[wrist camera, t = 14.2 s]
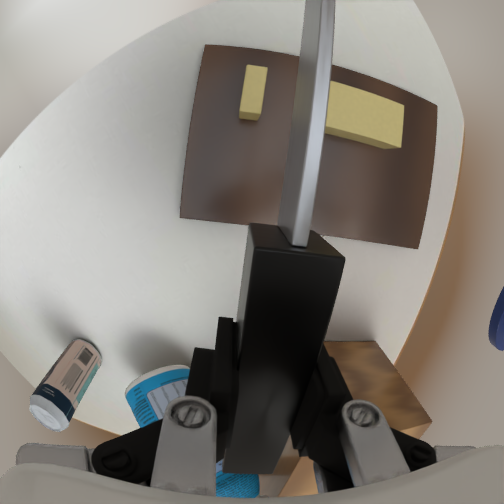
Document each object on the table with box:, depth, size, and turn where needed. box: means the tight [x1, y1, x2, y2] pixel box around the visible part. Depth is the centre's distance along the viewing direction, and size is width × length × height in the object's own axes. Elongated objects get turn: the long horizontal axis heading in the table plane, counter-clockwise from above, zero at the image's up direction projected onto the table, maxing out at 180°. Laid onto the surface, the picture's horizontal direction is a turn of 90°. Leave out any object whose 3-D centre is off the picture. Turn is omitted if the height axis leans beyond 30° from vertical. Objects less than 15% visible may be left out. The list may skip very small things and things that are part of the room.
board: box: [180, 45, 437, 249], centre depth 23 cm, size 24×16×1 cm, turn 82°
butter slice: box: [239, 65, 268, 121], centre depth 19 cm, size 2×4×3 cm, turn 172°
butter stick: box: [325, 81, 404, 149], centre depth 20 cm, size 7×4×3 cm, turn 82°
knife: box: [222, 0, 345, 474], centre depth 7 cm, size 21×2×3 cm, turn 172°
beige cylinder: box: [30, 339, 102, 432], centre depth 23 cm, size 5×5×12 cm
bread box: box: [258, 341, 432, 498], centre depth 25 cm, size 12×20×14 cm, turn 172°
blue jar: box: [125, 365, 270, 498], centre depth 21 cm, size 8×8×20 cm
